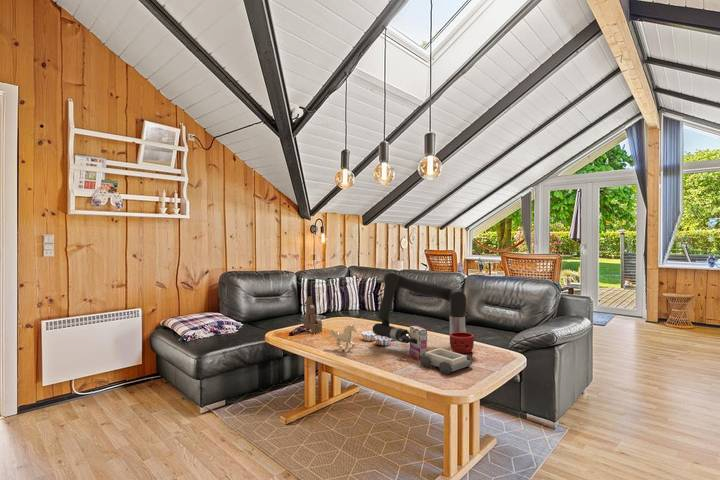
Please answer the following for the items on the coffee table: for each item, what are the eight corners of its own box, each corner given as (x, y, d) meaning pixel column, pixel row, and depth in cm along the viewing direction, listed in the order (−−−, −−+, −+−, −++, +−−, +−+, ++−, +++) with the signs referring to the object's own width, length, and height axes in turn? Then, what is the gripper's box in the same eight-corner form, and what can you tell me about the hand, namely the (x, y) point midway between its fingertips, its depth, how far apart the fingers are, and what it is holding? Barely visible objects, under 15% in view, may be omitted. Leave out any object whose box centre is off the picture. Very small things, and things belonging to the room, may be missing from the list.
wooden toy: (322, 332, 267) (322, 296, 267) (314, 334, 263) (314, 297, 262) (309, 328, 279) (309, 294, 278) (302, 330, 274) (301, 295, 274)
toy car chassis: (442, 358, 209) (442, 346, 209) (473, 368, 193) (473, 355, 193) (419, 365, 198) (419, 352, 198) (450, 376, 182) (450, 362, 182)
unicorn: (327, 348, 230) (327, 319, 229) (331, 346, 233) (331, 318, 233) (355, 353, 219) (354, 323, 218) (358, 351, 222) (358, 322, 222)
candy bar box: (427, 359, 207) (427, 329, 206) (419, 361, 205) (419, 330, 204) (417, 353, 217) (416, 325, 217) (409, 355, 215) (409, 326, 215)
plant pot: (476, 354, 216) (476, 333, 216) (470, 360, 204) (470, 338, 204) (453, 350, 222) (453, 330, 222) (446, 357, 211) (446, 335, 211)
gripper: (390, 330, 218) (411, 336, 205) (408, 326, 227) (429, 331, 213) (390, 343, 218) (411, 350, 205) (408, 338, 227) (429, 345, 213)
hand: (420, 340), depth 209 cm, fingers closed on candy bar box, 6 cm apart
